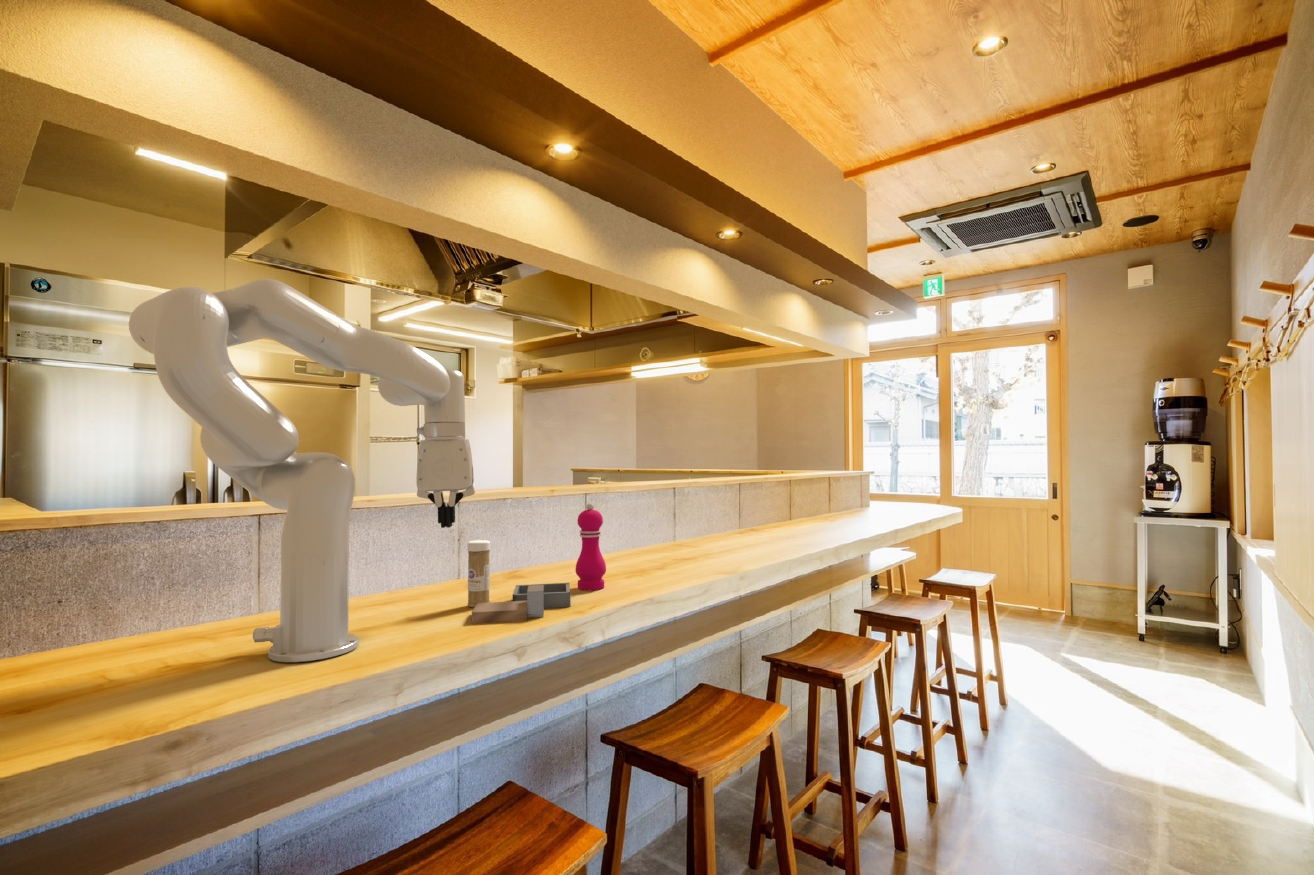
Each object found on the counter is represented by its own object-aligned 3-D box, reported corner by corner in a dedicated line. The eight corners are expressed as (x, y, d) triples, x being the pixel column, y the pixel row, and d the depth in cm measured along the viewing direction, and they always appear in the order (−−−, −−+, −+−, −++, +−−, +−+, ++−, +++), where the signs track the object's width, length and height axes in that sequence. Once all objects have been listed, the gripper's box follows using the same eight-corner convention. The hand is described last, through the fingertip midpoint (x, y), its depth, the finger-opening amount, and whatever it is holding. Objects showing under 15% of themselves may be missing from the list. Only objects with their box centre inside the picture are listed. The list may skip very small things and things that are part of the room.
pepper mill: (608, 585, 147) (607, 501, 148) (603, 591, 140) (602, 503, 141) (579, 584, 148) (578, 502, 149) (572, 591, 141) (571, 504, 142)
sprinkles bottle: (463, 607, 126) (463, 542, 126) (475, 602, 130) (474, 539, 131) (483, 608, 125) (482, 542, 125) (494, 603, 129) (494, 539, 130)
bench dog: (527, 618, 116) (527, 591, 116) (528, 610, 122) (528, 585, 122) (543, 617, 117) (543, 590, 117) (544, 609, 123) (543, 584, 123)
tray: (512, 609, 123) (512, 595, 123) (516, 598, 134) (515, 585, 134) (570, 606, 125) (570, 592, 125) (569, 595, 136) (569, 582, 136)
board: (471, 626, 113) (471, 612, 113) (477, 615, 121) (477, 603, 121) (527, 622, 114) (526, 609, 115) (528, 613, 122) (528, 600, 123)
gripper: (399, 432, 115) (401, 531, 114) (482, 431, 117) (483, 527, 116) (409, 434, 122) (411, 526, 121) (486, 432, 124) (488, 523, 124)
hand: (446, 526), depth 119 cm, fingers closed
